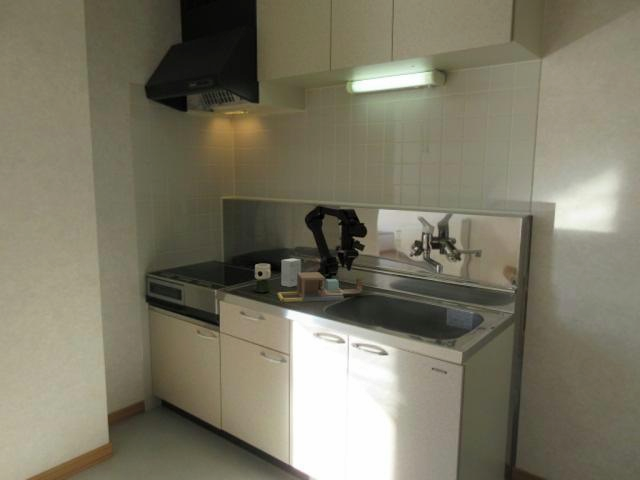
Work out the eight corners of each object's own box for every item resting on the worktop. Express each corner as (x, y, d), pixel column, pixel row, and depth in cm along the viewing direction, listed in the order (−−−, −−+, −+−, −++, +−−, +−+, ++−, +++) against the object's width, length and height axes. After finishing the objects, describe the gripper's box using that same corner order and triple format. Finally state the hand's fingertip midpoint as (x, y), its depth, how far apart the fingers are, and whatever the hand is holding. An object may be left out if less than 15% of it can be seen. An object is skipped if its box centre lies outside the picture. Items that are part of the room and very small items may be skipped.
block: (325, 289, 213) (325, 279, 212) (335, 289, 214) (335, 278, 214) (327, 292, 208) (328, 281, 208) (338, 292, 209) (338, 281, 209)
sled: (321, 291, 214) (321, 278, 214) (357, 290, 219) (358, 277, 218) (325, 295, 207) (325, 281, 206) (363, 294, 211) (363, 280, 210)
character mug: (249, 291, 219) (249, 264, 218) (260, 288, 224) (261, 262, 223) (263, 295, 212) (264, 267, 210) (275, 292, 217) (276, 265, 215)
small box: (292, 282, 239) (292, 257, 238) (301, 284, 235) (301, 259, 234) (280, 285, 233) (281, 259, 232) (289, 287, 229) (290, 261, 228)
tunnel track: (277, 295, 212) (277, 273, 210) (336, 293, 218) (337, 271, 217) (281, 302, 200) (282, 278, 199) (343, 299, 207) (344, 276, 206)
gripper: (370, 238, 208) (368, 272, 210) (357, 233, 226) (356, 264, 228) (346, 238, 205) (345, 272, 207) (335, 233, 223) (334, 265, 225)
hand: (345, 268), depth 217 cm, fingers open, 9 cm apart
